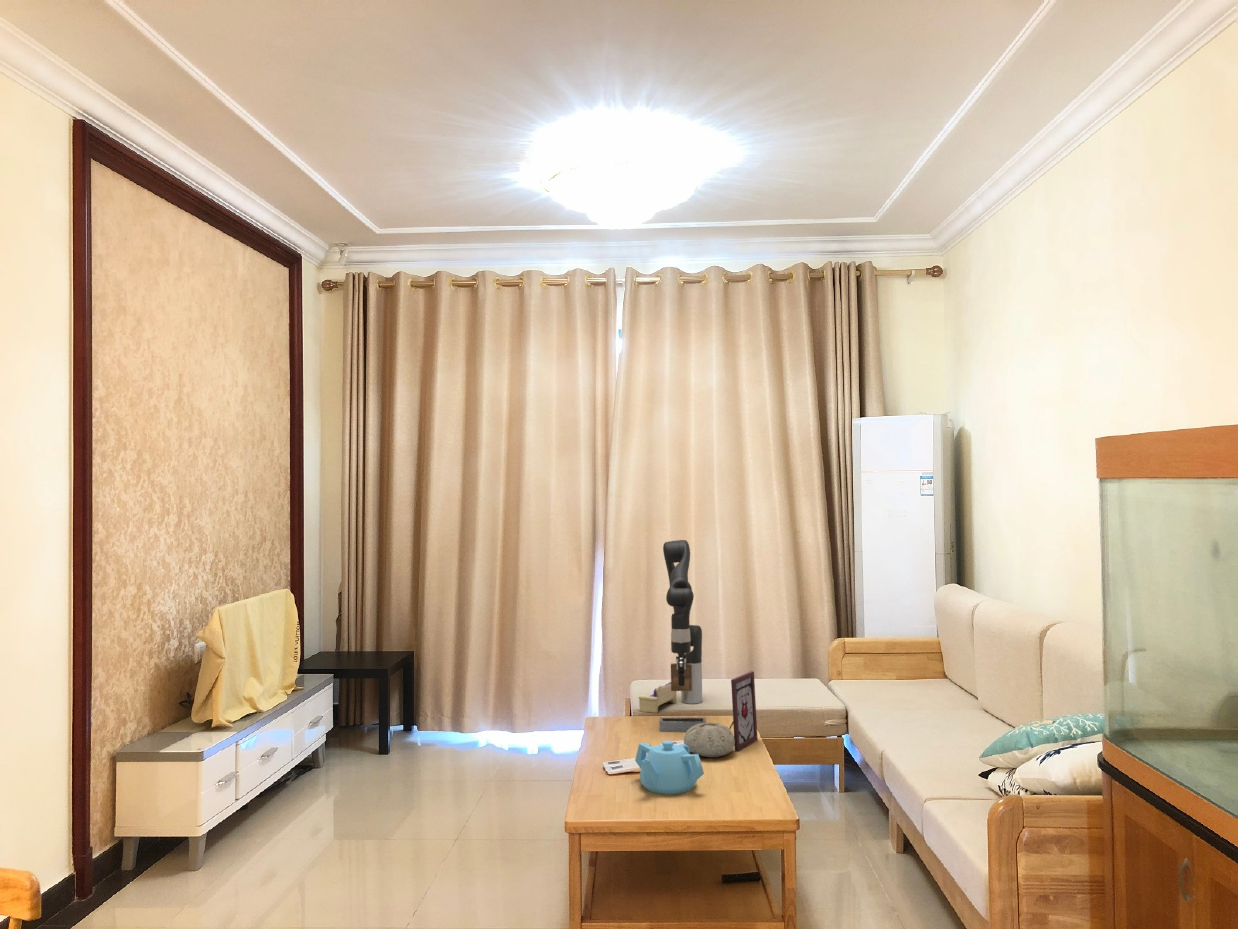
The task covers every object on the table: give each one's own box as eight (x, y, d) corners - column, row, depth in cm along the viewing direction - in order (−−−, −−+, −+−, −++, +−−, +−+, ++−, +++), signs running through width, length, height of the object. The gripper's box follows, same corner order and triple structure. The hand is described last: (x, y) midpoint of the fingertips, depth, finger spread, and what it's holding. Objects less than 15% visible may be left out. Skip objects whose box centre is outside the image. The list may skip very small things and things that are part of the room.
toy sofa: (659, 701, 373) (659, 677, 373) (677, 703, 369) (677, 679, 369) (638, 712, 354) (637, 687, 355) (656, 714, 350) (656, 689, 351)
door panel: (671, 689, 329) (670, 663, 330) (691, 689, 328) (691, 663, 329) (671, 691, 326) (670, 665, 326) (691, 691, 325) (691, 665, 326)
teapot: (637, 777, 272) (636, 733, 272) (696, 775, 273) (695, 732, 273) (642, 798, 252) (641, 752, 253) (705, 796, 253) (705, 750, 254)
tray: (659, 726, 331) (659, 717, 331) (706, 726, 329) (705, 717, 330) (659, 731, 324) (659, 722, 324) (706, 731, 322) (706, 722, 323)
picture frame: (737, 751, 297) (736, 680, 298) (712, 747, 302) (711, 677, 303) (757, 740, 310) (756, 671, 311) (733, 736, 316) (732, 669, 317)
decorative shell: (705, 765, 283) (704, 735, 283) (673, 752, 298) (672, 723, 298) (745, 755, 293) (744, 726, 293) (712, 743, 307) (711, 715, 308)
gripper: (671, 637, 335) (672, 680, 335) (670, 643, 321) (671, 688, 321) (690, 637, 335) (691, 680, 334) (690, 643, 321) (691, 688, 320)
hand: (681, 684), depth 327 cm, fingers closed on door panel, 3 cm apart
